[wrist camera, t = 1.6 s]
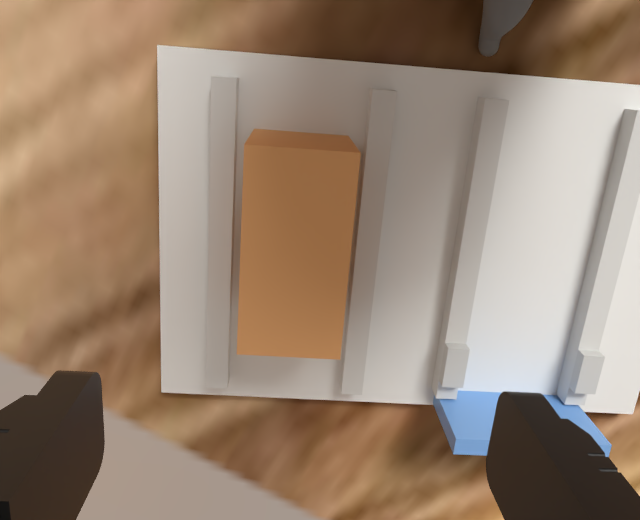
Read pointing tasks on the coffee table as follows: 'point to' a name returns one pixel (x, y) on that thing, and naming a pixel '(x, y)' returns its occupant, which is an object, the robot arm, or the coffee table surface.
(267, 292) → the orange block
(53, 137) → the coffee table surface
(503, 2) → the grey footed bin
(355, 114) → the white railed platform
